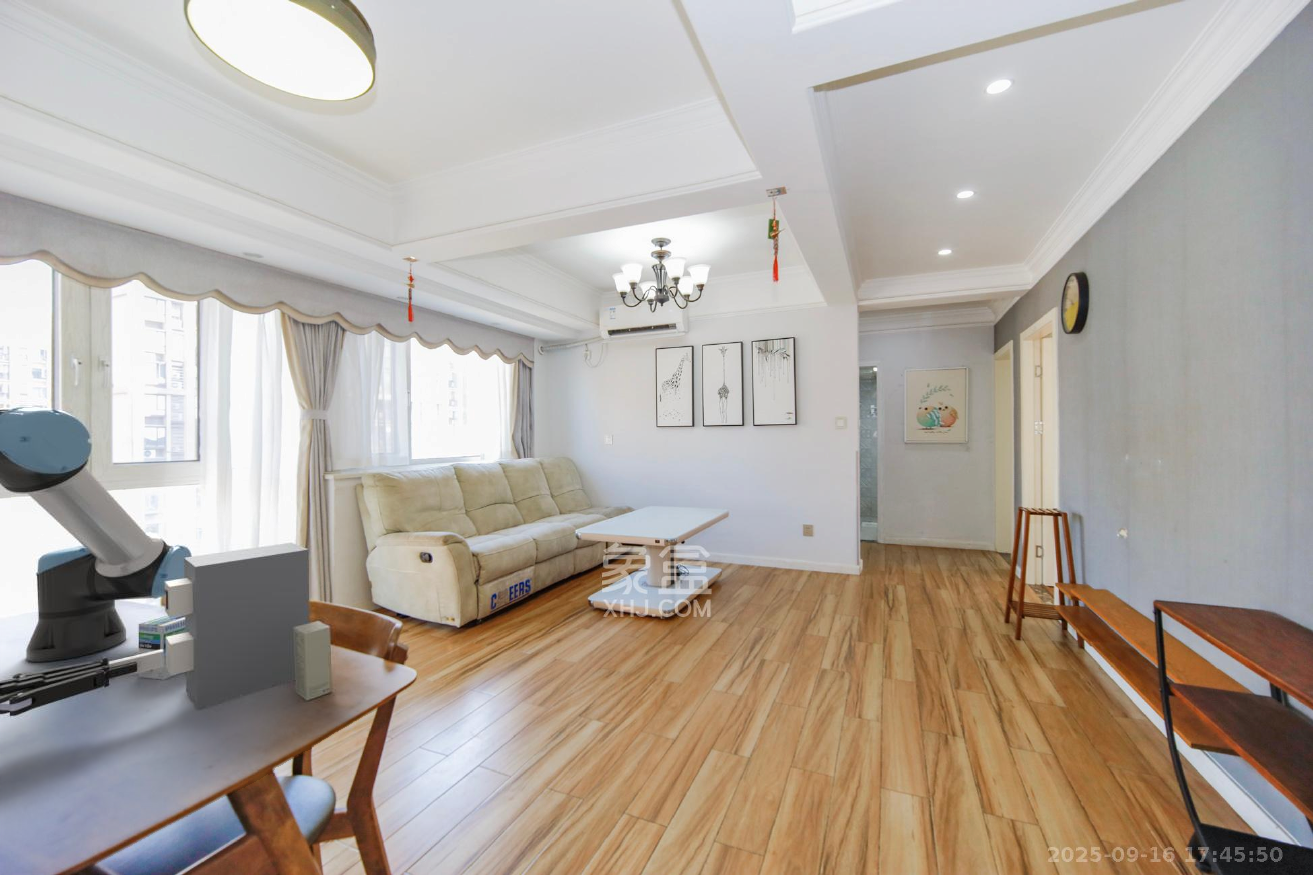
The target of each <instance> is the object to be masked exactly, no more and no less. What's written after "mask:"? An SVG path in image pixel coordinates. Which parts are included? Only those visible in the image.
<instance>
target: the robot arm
mask: <svg viewBox="0 0 1313 875" xmlns="http://www.w3.org/2000/svg"><path fill="white" fill-rule="evenodd" d="M88 430H89V429H87V427H86V425H84V423H83V422H82V421H81V420H80V419H78V418H77V417H76V416H74V415H72V414H71V413H68V412H66V411H64V410H60V409H56V408H47V407H46V408H45V407H38V406H37V407H36V406H19V407H0V485H1V486H2V487H3V488H4V489H5V490H6V491H9V492H11V493H14V494H23V495H24V494H27V495H28V496H30V498H31V499H32V500H34V501H35V502H36V503H37V504H38V505H39V506H40V507H41V508H43V509H44V511H46V512H47V513H48V515H50V516H51V517H52V518H53V519H54V520H55V521H56V522H58V523H59V525H60V526H62V528H64V529H65V530H66V531H67V532H68V534H70V535H71V536H72V537H73V538H74V539H76V541H78V542H79V543H80V544H81V545H80V546H79V545H78V546H73V547H68V548H64V549H59V550H55V551H50V552H47V553H45V554H42V556H40V558H39V559H38V562H37V572H36V574H35V576H36V583H37V584H36V585H37V611H38V612H37V613H38V615H37V616H38V621H37V623H36V625H35V628H34V631H33V633H32V635H31V638H30V640H29V642H28V643H27V646H26V650H25V652H26V654H25V656H26V660H27V661H28V662H32V663H36V662H37V663H39V662H40V663H41V662H43V663H44V662H53V661H61V660H67V659H74V658H77V657H81V656H86V655H87V656H88V655H89V654H93V653H98V652H102V651H103V650H104V651H105V650H107V649H110V648H112V647H115V646H117V645H119V644H121V643H123V642H124V641H125V640H126V639H127V628H126V627H125V624H124V622H123V621H122V618H121V617H120V615H119V613H118V611H117V609H116V603H115V602H116V601H121V600H123V601H124V600H138V599H139V600H140V599H143V600H144V599H155V600H156V599H159V598H165V581H171V580H177V579H183V578H184V558H186V557H193V556H192V553H191V551H190V549H189V548H188V547H187V546H184V545H180V544H175V545H169V544H167V543H166V541H165V540H164V539H163V538H162V537H161V536H160V535H158V534H157V533H153V532H147V531H144V530H143V529H142V527H141V526H140V525H138V523H137V522H136V521H135V520H134V519H133V518H132V517H131V516H130V515H129V513H128V512H127V511H126V510H125V509H124V508H123V507H122V505H120V503H119V502H118V501H117V500H116V499H115V497H113V496H112V494H110V492H108V490H107V489H106V488H105V487H104V486H103V485H102V484H101V482H100V481H99V480H97V479H96V477H95V476H94V475H93V474H92V473H91V472H90V470H89V469H88V468H87V466H88V465H89V463H90V462H89V461H90V458H89V457H90V455H91V452H92V447H93V446H92V445H93V444H92V443H91V442H90V441H89V439H91V435H90V433H89V431H88ZM161 667H164V651H163V649H160V650H156V651H152V652H148V653H143V654H139V653H138V654H136V655H132V656H127V657H122V658H118V659H115V660H110V661H109V657H108V656H103V657H102V659H95V660H92V661H86V662H81V663H75V664H71V665H69V664H68V665H65V666H59V667H54V668H49V669H43V670H38V671H29V672H21V673H20V672H19V673H15V674H13V675H12V678H8V679H7V678H6V679H4V680H1V681H0V715H4V714H5V715H6V714H8V713H9V717H17V716H19V715H22V714H24V713H26V712H28V711H32V710H34V709H36V708H40V707H44V706H46V705H49V704H52V703H56V702H59V701H62V700H66V699H68V698H71V697H75V696H78V695H82V694H84V693H87V692H91V691H94V690H97V689H101V688H103V687H104V688H108V687H110V681H113V680H117V679H121V678H124V677H130V676H132V675H137V674H139V673H141V672H145V671H149V670H153V669H157V668H161Z"/></svg>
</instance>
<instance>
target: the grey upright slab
mask: <svg viewBox="0 0 1313 875" xmlns="http://www.w3.org/2000/svg"><path fill="white" fill-rule="evenodd" d="M309 550H310V549H308V548H306V547H304V546H301V545H298V544H295V543H293V542H287V543H279V544H271V545H266V546H258V547H253V548H251V547H249V548H244V549H237V550H231V551H223V552H215V553H208V554H201V555H194V556H192V557H186V558H184V578H190V579H191V580H192V581H193V613H192V614H187V615H185V633H186V632H190V634H191V635H192V636H193V638H194V670H190V671H186V672H185V691H186V693H187V695H188V697H189V698H190V700H191V701H192V703H193V705H194V706H195V708H196V710H197V711H199V710H203V709H206V708H208V707H211V706H215V705H218V704H221V703H225V702H228V701H230V700H231V701H232V700H234V699H238V698H240V697H244V696H247V695H249V694H253V693H255V692H256V693H257V692H260V691H262V690H265V689H269V688H273V687H275V686H279V685H282V684H285V683H288V682H292V681H296V678H295V654H294V630H293V627H296V626H300V625H304V624H308V623H311V621H310V617H311V616H310V570H309V569H310V568H309V566H310V564H309V562H310V561H309V560H310V559H309V557H310V556H309V555H310V554H309Z"/></svg>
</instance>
